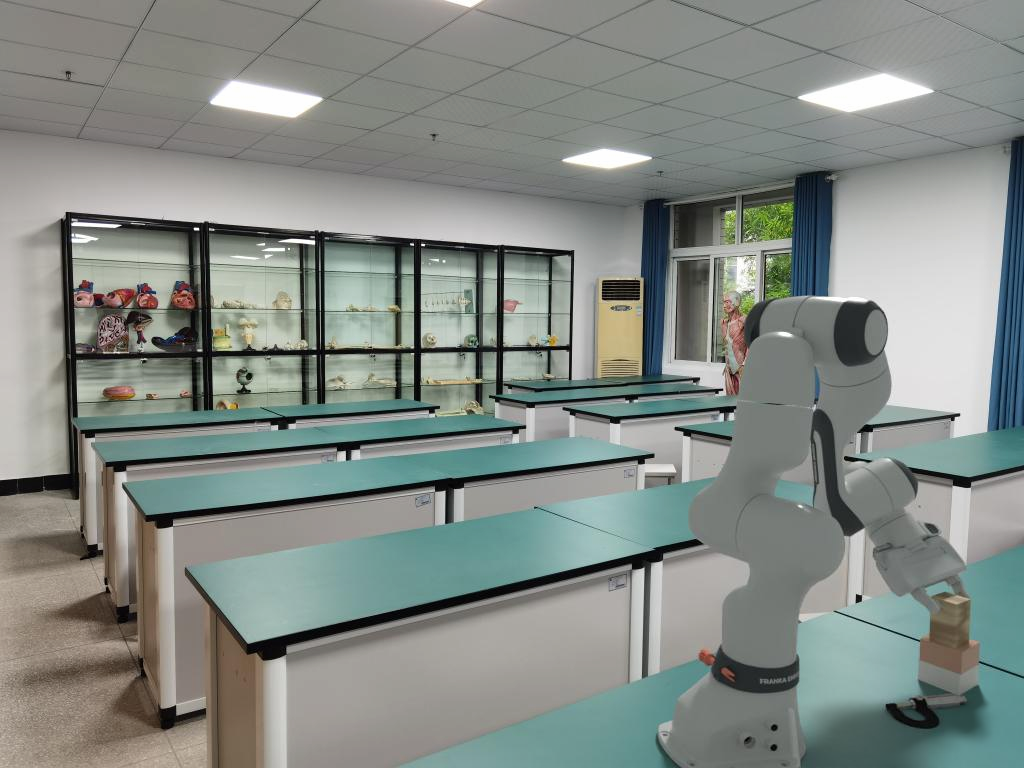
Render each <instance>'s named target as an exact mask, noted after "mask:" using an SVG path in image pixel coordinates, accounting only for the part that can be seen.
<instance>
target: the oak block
mask: <svg viewBox="0 0 1024 768" xmlns="http://www.w3.org/2000/svg"><path fill="white" fill-rule="evenodd" d="M930 597H931V598H932V599H933V600H934V601H936V600H937V601H938V602H939V603H940V605H941V606H942V607H943V610H942V611H940V612H938V613H936V614H934V615H933V614H931V613H930V612H929V614H930V615H929V633H928V634H929V639H930V640H933V641H936V642H938V643H941V644H944V645H946V646H949V647H952V648H954V649H955V648H958V647H960V646H963V645H965V644H968V643H969V639H970V630H971V629H970V627H971V606H972V599H971V598H970V599H968V598H964V597H961V596H958V595H955V593H951V592H948V591H942V592H940V593H937V594H933V595H931V596H930Z"/></svg>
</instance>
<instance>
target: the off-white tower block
mask: <svg viewBox="0 0 1024 768" xmlns="http://www.w3.org/2000/svg"><path fill="white" fill-rule="evenodd" d="M917 670H918V671H917V672H918V673H917V680H919V681H921V682H923V683H925V684H929V685H931V686H933V687H936V688H938V689H940V690H943V691H946V692H949V693H950V694H955V695H956V696H960V695H963V694H965V693H966V692H968V691H970V690H971V689H973V688H974V687H976V686H978V685H979V675H980V674H979V673H980V672H979V671H980V663H979V664H978V665H976V666H974V667H973V668H971V669H970V670H968V671H967V672H965V673H963V674H962V675H960V674H957V673H955V672H952V671H949V670H946V669H943V668H941V667H938V666H935V665H932V664H929V663H927V662H924V661H921V660H919V659H918V669H917Z"/></svg>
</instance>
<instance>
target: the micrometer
mask: <svg viewBox="0 0 1024 768" xmlns="http://www.w3.org/2000/svg"><path fill="white" fill-rule="evenodd" d="M960 704H962V705H963V704H967V698H966V696H964V695H963V694H961V695H959V696H958V695H956V694H953V693H947V694H934V695H927V696H921V695H920V694H915V695H914V697H910V698H908V702H897V703H896V702H892V703H890V702H889V703H886V704H885V709H886V710H887V711H889V713H890V714H891V716H892V717H893V718H894V720H896V721H897V722H899V723H900V724H903V725H905V726H909V727H911V728H915V729H916V728H917V729H923V730H924V729H925V730H929V729H935V728H937V727H938V726H939V725H940V718H939V716H938V715H937V713H936V712H934V710H935V709H943V708H954V707H956V708H957V707H960ZM906 708H907V709H908V708H909V709H910V708H912V709H913V710H915V711H918V712H919V713H920V714H921V715H922V716H924V719H923V720H922V719H921V720H919V719H914V718H911V717H909V716H907V715H906V714H905V713H904V712H903V711H902V710H901V709H906Z"/></svg>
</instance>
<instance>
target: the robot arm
mask: <svg viewBox="0 0 1024 768" xmlns="http://www.w3.org/2000/svg"><path fill="white" fill-rule="evenodd" d="M888 322H889V321H888V318H887V316H886V313H885V312H884V310H883V309H882V308H881V307H880V306H879V305H878V303H876V302H875V301H873V300H872V299H867V298H863V297H856V296H855V297H854V296H852V297H849V298H845V297H836V296H817V295H799V296H790V297H784V298H779V297H772V298H771V297H770V298H768V299H764V300H761V301H759V302H756V303H755V304H754V305H753V306H752V308H751V309H750V310H749V312H748V313H747V314H746V317H745V320H744V323H743V337H744V338H743V339H744V342H745V345H746V347H747V350H748V351H747V354H746V357H745V361H744V364H743V367H742V371H741V376H740V381H739V386H738V392H737V400H736V410H735V418H734V423H733V431H732V436H731V437H732V439H731V442H730V443H731V444H730V448H729V451H728V453H727V456H726V459H725V462H724V464H723V466H722V468H721V470H720V471H719V473H718V474H717V475H716V477H715V478H714V480H713V481H711V482H710V484H708V485H707V486H706V487H704V488H702V489H701V490H699V491H698V492H697V493H696V494H695V496H694V497H693V498H692V501H691V503H690V505H689V509H688V514H687V518H688V521H687V523H688V526H689V530H690V532H691V534H692V535H693V537H694V538H695V539H696V540H698V541H700V543H702V544H703V545H705V546H707V547H708V548H710V549H711V550H712V551H714V552H715V553H719V554H721V555H723V556H726V557H730V558H732V559H734V560H735V559H736V560H738V561H740V562H741V561H742V562H744V563H746V564H748V567H749V575H748V579H747V582H746V584H743V585H740V586H738V587H736V588H733V589H732V590H731V591H729V593H728V594H727V595H726V596H725V597H724V599H723V602H722V605H721V607H722V608H721V644H719V647H718V649H717V651H716V653H715V655H714V653H711V652H710V651H709V650H708V649H706V648H702V649H701V650H699V652H698V656H697V657H698V660H699V661H700V662H702V663H704V665H705V666H707V667H710V671H709V672H707V674H705V675H704V676H703V677H702V678H700V679H699V680H698V681H697V682H696V683H694V684H693V685H692V686H691V687H690V688H689V689H688V690H686V691H685V692H684V693H682V694H681V695H680V696H679V697H678V698H677V700H676V703H675V706H674V709H673V715H672V720H669V721H666V722H663V723H660V724H659V725H658V729H657V740H658V742H659V744H660V746H661V748H662V749H663V750H664V752H665V753H666V754H667V755H668V757H669V758H670V759H671V760H672V761H673V762H674V763H675V764H677V766H678V767H680V768H802V764H801V760H802V758H803V757H804V756H805V753H806V750H807V744H806V741H805V738H804V734H803V730H802V726H801V719H800V712H799V702H798V689H797V688H798V687H797V686H798V685H799V682H800V657H799V654H798V653H797V650H798V649H797V648H798V633H799V632H798V631H799V622H800V621H799V620H800V613H801V608H802V604H803V602H804V600H805V598H806V596H807V594H808V593H809V591H810V590H811V589H812V588H813V587H815V585H816V584H818V583H820V582H822V581H825V580H826V579H828V578H830V577H831V576H832V575H833V574H835V572H836V571H837V570H838V569H839V567H840V566H841V564H842V562H843V559H844V557H845V551H846V538H845V537H850V538H851V537H852V536H854V535H855V534H857V533H859V532H861V531H862V530H865V532H866V534H867V535H866V536H867V537H868V539H869V540H870V541H871V543H872V544H873V546H874V547H873V549H872V558H873V560H874V561H875V566H876V569H877V570H878V573H879V574H880V576H881V578H882V579H883V581H884V582H885V584H886V586H887V587H888V588H889V590H890V592H891V593H892V594H893V595H896V596H897V597H899V598H901V597H902V598H903V597H904V596H907V595H911V596H912V598H913V599H914V601H917V602H918V603H919V604H921V605H922V606H923V607H925V609H927V612H929V614H930V613H931V614H933V615H934V614H936V613H938V612H940V611H942V610H943V607H942V606H941V605H940V603H939V602H938V601H937V600H936V601H934V600H933V599H932V598H931V596H930V595H929V594H927V592H928V591H927V590H926V588H929V587H932V586H935V585H938V584H942V583H943V582H945V583H946V584H947V586H948V587H951V589H952V591H953V592H954V593H953V594H955V595H958V596H961V597H964V598H968V599H971V596H970V594H969V593H968V592H967V591H966V589H965V586H964V581H963V579H962V578H961V576H960V575H962V574H963V573H965V572H966V571H967V566H966V563H965V561H964V559H963V558H962V556H961V555H960V554H959V553H958V552H957V550H956V549H955V548H954V547H953V545H952V544H951V543H950V541H948V539H946V538H945V537H944V536H942V535H941V534H942V532H943V531H942V530H941V528H940V527H939V526H938V525H937V524H935V523H931V522H927V521H923V520H920V519H917V518H915V517H914V516H913V515H912V514H911V513H910V512H909V511H908V510H907V509H906V507H907V506H908V505H910V504H911V503H912V502H913V501H914V500H916V498H917V495H918V492H919V491H918V490H919V480H918V479H917V477H916V476H915V474H914V473H913V472H912V470H911V469H910V468H909V466H908V465H906V464H905V463H904V462H902V461H900V460H898V459H896V458H892V457H888V456H884V457H882V458H877V459H876V460H872V461H871V462H867V461H863V460H862V461H861V460H858V461H853V462H851V463H849V464H848V465H845V463H844V462H845V460H844V453H845V449H846V447H847V445H848V444H849V442H851V440H852V439H853V437H855V435H856V434H857V433H858V432H859V431H860V430H861V429H862V428H863V427H864V426H865V425H866V424H868V422H870V421H871V420H873V418H875V417H876V416H878V414H880V413H881V412H882V410H883V408H885V406H886V405H887V404H888V401H889V399H890V397H891V394H892V385H893V384H892V376H891V370H890V366H889V363H888V362H889V361H888V358H887V355H886V351H885V347H886V345H887V342H888V337H889V325H888V324H889V323H888ZM815 367H816V368H815ZM815 369H816V371H815ZM816 372H817V376H818V380H819V394H818V399H817V404H816V407H815V397H816V395H815V394H816V392H815V391H816ZM814 407H815V409H814ZM809 452H811V466H812V475H813V494H812V506H811V505H809V504H807V503H804V502H799V501H795V500H791V499H787V498H783V497H779V496H775V491H776V489H777V485H778V483H779V481H780V479H781V477H782V476H783V475H784V474H785V473H786V472H789V471H792V470H795V469H796V468H798V467H799V466H801V465H802V464H803V463H804V462H805V461H806V459H808V458H807V457H808V456H809Z"/></svg>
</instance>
